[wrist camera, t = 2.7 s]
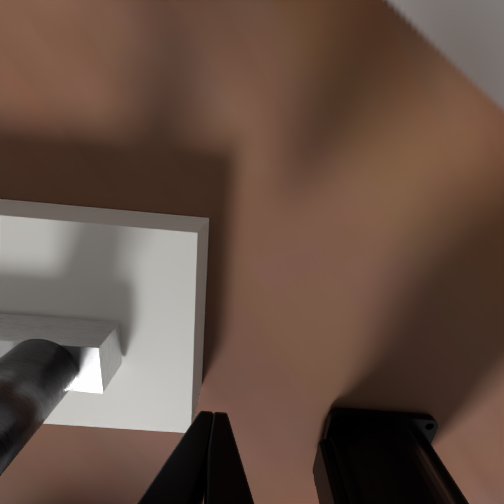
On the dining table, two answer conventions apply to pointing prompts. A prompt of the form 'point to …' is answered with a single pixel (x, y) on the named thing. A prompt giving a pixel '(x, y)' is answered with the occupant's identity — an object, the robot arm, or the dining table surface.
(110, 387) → the door lock board
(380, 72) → the dining table surface
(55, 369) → the bolt
